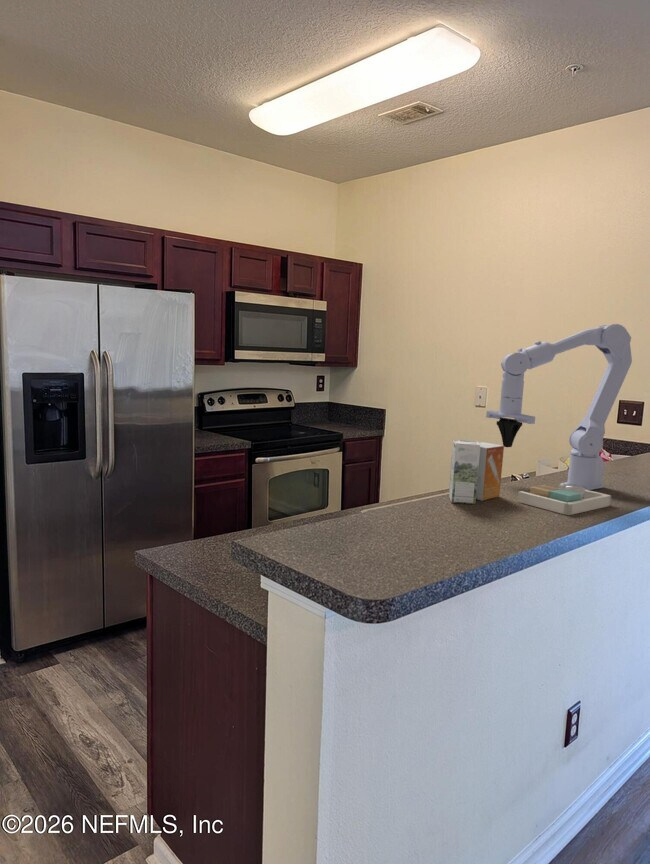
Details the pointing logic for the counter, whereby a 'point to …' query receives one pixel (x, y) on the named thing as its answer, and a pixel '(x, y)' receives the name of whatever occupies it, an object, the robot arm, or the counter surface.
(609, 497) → the frame
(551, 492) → the teal block
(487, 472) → the small box
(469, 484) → the syrup box
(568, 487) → the aluminium part
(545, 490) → the oak block
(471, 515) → the counter surface
